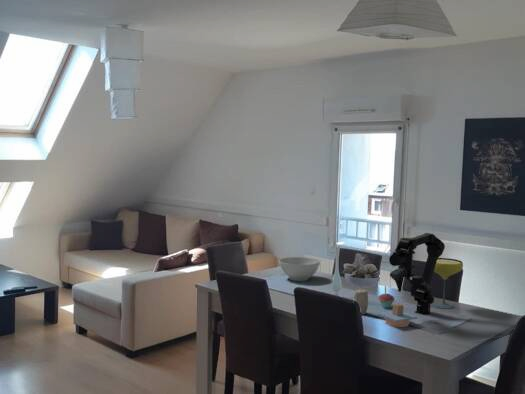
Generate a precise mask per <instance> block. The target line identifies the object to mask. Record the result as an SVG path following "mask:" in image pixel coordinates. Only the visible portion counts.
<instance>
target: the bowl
mask: <svg viewBox="0 0 525 394" xmlns="http://www.w3.org/2000/svg"><path fill="white" fill-rule="evenodd" d="M410 321H411V319H410V320H404V321H398V322H395V321H393V320H391V319H388V318H386V317H385V323H386V324H387V325H388V326H390V327H396V328H405V327H406V328H407V327H408V326H410V325H411V322H410Z"/></svg>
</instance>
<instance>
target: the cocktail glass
mask: <svg viewBox="0 0 525 394" xmlns="http://www.w3.org/2000/svg"><path fill="white" fill-rule="evenodd" d="M463 267H464V264H463V261H462V260H459V259H455V258H449V257H447V258H445V257H439V258H438V259H437V262H436V265H435V269H434V272H433V273H436V274H437V275H439V276H440V277H441V279H442V280H443V292H442V293H443V297H442V302H435V303H432V304H433V307H435V308H438V309H444V310H445V309H446V310H447V309H449V310H451V309H454V308H455V306H454V305H453V304H450V303H447V302H446V298H445V297H446V295H445V293H446V280H448V278H449V277H450V276H453V275H456V274H457V273H459V272H462V270H463Z"/></svg>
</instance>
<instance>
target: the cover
mask: <svg viewBox="0 0 525 394" xmlns="http://www.w3.org/2000/svg"><path fill="white" fill-rule="evenodd" d="M378 315H379V316H381V317H383V318H385V319H386V318H388V319H391V320H393V321H395V322H398V321H404V320H410V321H411V320H416V319H418V316H417V315H413V314H411V313H408V312H406V311H404V304H401V303H399V302H398V303H392V310H388V311H382V312H378Z"/></svg>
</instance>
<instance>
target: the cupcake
mask: <svg viewBox="0 0 525 394" xmlns="http://www.w3.org/2000/svg"><path fill="white" fill-rule="evenodd" d="M378 301H379V302H380V305H381V307H382V308H384V309H390V308H391V306H393V304H394V302H395V297H394V296H393V295H391V293H387V287H386V285H384V293H382V294H380V295H378Z"/></svg>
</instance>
